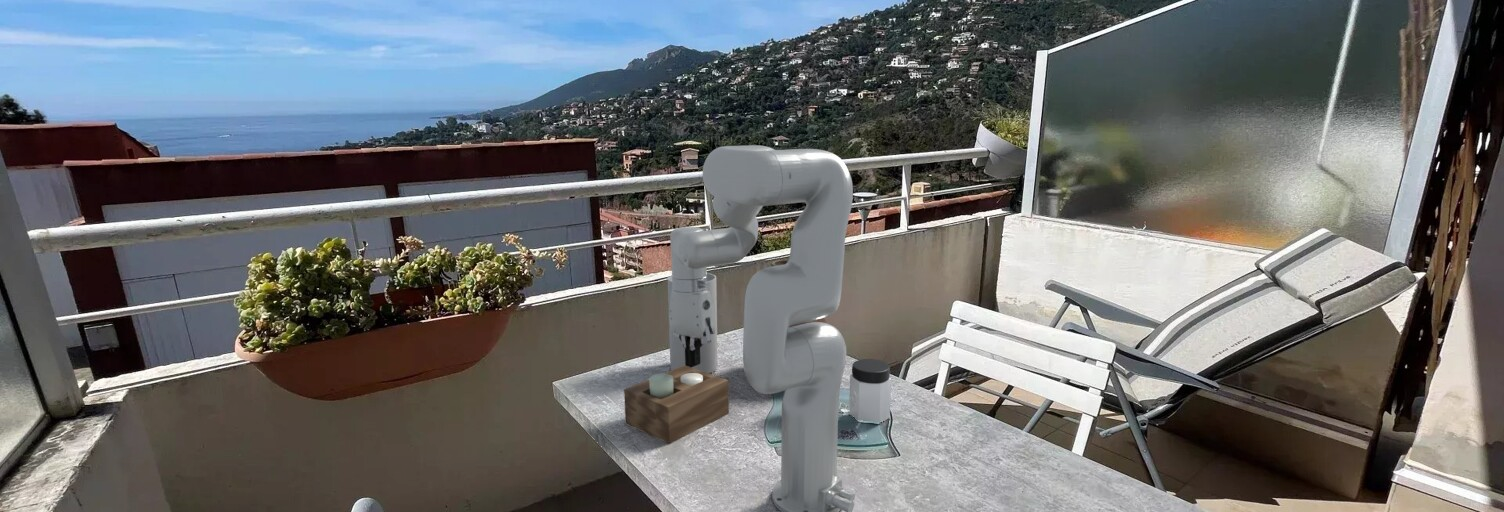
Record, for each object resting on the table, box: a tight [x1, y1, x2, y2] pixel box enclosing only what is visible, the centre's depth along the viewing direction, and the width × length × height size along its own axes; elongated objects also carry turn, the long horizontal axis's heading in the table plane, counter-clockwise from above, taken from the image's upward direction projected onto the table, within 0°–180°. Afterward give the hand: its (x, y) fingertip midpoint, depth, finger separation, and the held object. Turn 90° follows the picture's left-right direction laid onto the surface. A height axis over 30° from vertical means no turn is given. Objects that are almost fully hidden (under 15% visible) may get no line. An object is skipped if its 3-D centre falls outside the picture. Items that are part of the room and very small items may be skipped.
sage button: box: [648, 372, 674, 400], centre depth 136 cm, size 5×5×4 cm
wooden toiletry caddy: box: [623, 365, 730, 445], centre depth 140 cm, size 14×18×8 cm
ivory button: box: [681, 373, 703, 386], centre depth 143 cm, size 5×5×4 cm
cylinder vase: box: [667, 272, 719, 374], centre depth 167 cm, size 12×12×25 cm
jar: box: [848, 358, 892, 423], centre depth 141 cm, size 9×8×12 cm
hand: (693, 364), depth 141 cm, fingers closed
